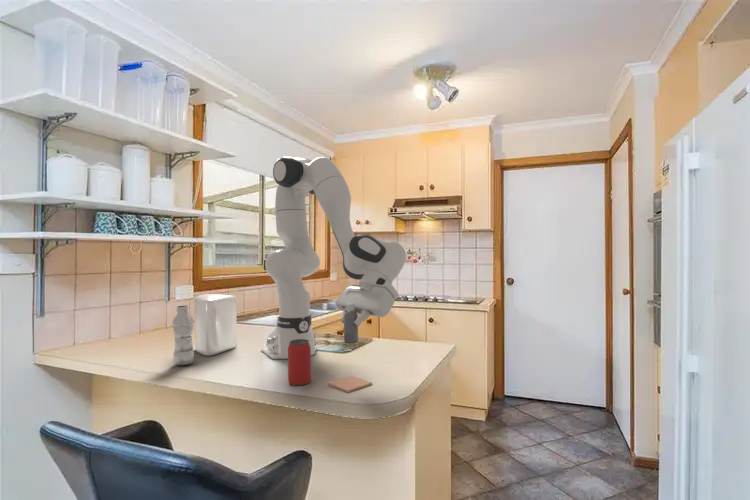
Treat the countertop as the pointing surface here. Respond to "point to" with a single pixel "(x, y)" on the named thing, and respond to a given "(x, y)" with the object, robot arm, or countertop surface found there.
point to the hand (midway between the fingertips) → (349, 323)
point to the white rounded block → (215, 323)
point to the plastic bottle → (183, 336)
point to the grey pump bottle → (350, 325)
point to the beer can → (299, 362)
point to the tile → (349, 383)
